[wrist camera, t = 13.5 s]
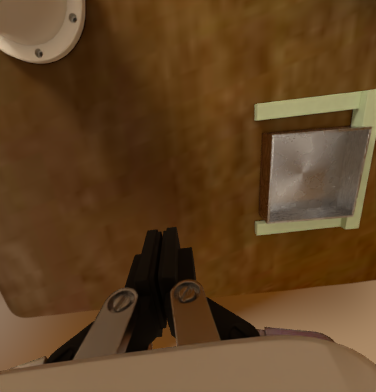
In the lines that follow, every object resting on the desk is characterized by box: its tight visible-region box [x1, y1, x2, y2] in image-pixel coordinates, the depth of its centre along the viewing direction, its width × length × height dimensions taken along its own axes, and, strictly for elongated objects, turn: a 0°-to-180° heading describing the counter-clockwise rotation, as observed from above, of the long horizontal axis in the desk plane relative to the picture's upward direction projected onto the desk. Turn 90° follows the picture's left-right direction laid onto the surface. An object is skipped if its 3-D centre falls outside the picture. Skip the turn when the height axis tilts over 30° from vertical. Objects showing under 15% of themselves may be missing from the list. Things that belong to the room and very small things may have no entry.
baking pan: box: [259, 126, 372, 224], centre depth 29 cm, size 12×12×4 cm
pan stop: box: [255, 89, 376, 235], centre depth 29 cm, size 19×15×2 cm
